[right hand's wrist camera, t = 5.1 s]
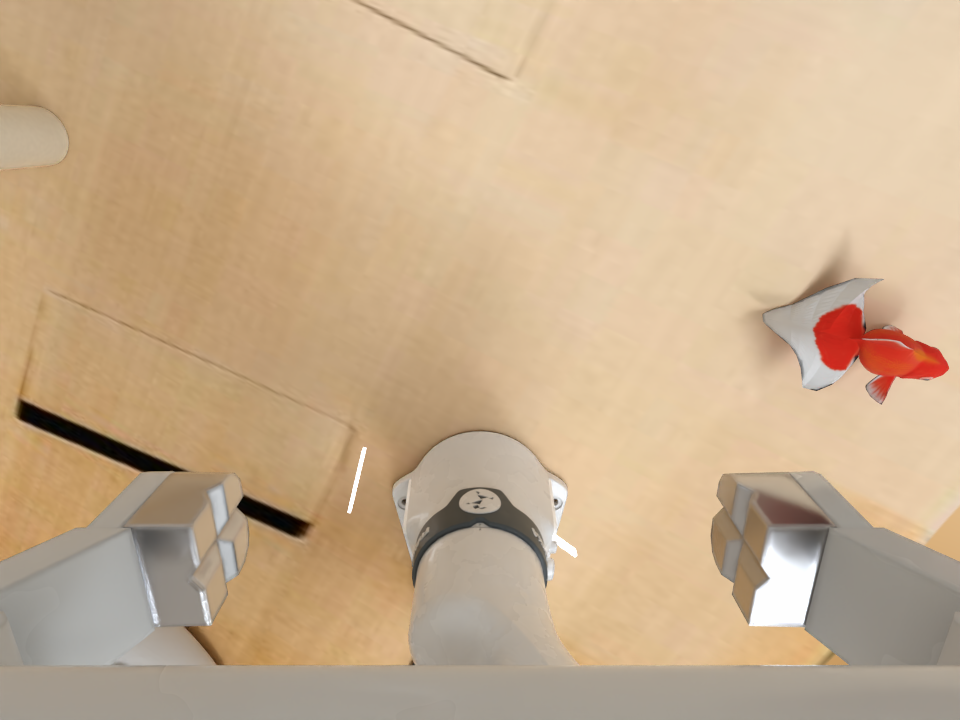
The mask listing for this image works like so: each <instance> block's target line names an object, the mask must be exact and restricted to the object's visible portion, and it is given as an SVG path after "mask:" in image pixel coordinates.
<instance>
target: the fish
mask: <svg viewBox="0 0 960 720" xmlns="http://www.w3.org/2000/svg"><path fill="white" fill-rule="evenodd" d="M882 280H884V279H864V278H855V279H852V280H849V281H846V282H843V283H840V284H837V285H834V286H831V287H828V288H825V289H823V290H821V291H819V292H817V293H815V294H813V295H811V296H809V297H807V298H805V299H803V300H801V301H798V302H796V303H794V304H792V305H788V306H784V307H780V308H776V309H773V310H770V311H767V312H765V313H764V314H763V322H764V323H765V324H766V325H767V326H768V327H769V328H770V329H772V330H773V331H774V332H775V333H776V334H777V335H779V336H780V337H781V338H782V339H783V340H784V341H786V342H787V343H788V344H789V345H790V346H791V347H792V349H793V350H794V352H795V354H796V355H797V358H798V361H799V364H800V367H801V374H802V385H803V388H807V389H811V390H815V391H817V390H820V389H822V388H825V387H827V386H830V385H832V384H833V383H834V382H836V381H837V380H838V379H839V378H841V377H842V375H843V374H844V373H845V372H846V371H847V370H848V369H849V368H850V366H851V365H852V364H853V363H854V362H855V360H856V359H857V358H858V357H859V359H860V362H861V363H862V365H863V366H864V367H865V368H866V369H867V370H868V371H870V372H871V373H874V374H877V375H878V376H877V377H875V378H874V379H873V380H871V381H870V382H869V383H868V384H867V385H866V390H867V392H868V393H869V395H870V396H871V397H872V398H873V399H874V400H875V401H877V402H878V403H880V404H881V405H882V403H883V401H884V400H885V398H886V396H887V393H888V391H889V389H890V387H891V385H892V383H893V381H894V379H895V378H896V376H897V377H900V378H912V379H921V380H931V379H933V378H936V377H939V376H941V375H943V374H944V373H945V372H947V371H948V369H949V366H948V364H947V362H946V360H945V359H944V357H943V356H942V354H941V352H940V351H939V349H937V348H935V347H930V346H928V345H926V344H924V343H921V342H919V341H914V340H913V339H911V338H910V337H908V336H906V335H904V334H903V332H902V331H901V330H899V329H897V328H896V327H894V326H892V325H887V326H885V327H883V328H882V329H874V330H871V331H869V332H867V333H865V331H866V324H865V318H864V312H863V310H864V293H865V292H866V291H867V290H868V289H869V288H870V287H871V286H872V285H874V284H876V283H877V282H879V281H882ZM864 333H865V334H864Z"/></svg>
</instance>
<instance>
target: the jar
mask: <svg viewBox="0 0 960 720" xmlns="http://www.w3.org/2000/svg"><path fill="white" fill-rule="evenodd" d="M68 147H69V140H68V135H67V132H66V129H65V127H64V125H63V124H62V122H61V121H60V120H59V119H58V118H57V117H56V116H55V115H54V114H53V113H52V112H50V111H49V110H47V109H45V108H42V107H39V106H31V105H9V104H0V171H2V170H13V169H24V168H35V167H45V166H53V165H56V164H58V163H59V162H61V161H62V160H63V159H64V158H65V156H66V154H67V152H68Z"/></svg>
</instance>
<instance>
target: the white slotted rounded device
mask: <svg viewBox="0 0 960 720" xmlns="http://www.w3.org/2000/svg"><path fill="white" fill-rule="evenodd" d="M111 665H216V663H215V662H214V661H213V659H212V658H211V657H210V655H209V654H208V653H207V652H206V650H205V649H204V648H203V647H202V646H201V644H200V643H199V642H198V641H197V640H196V639H195V638H194V637H193V636H192V635H191V633H190V632H189V631H188V630H187V629H186V628H185V627H184V626H178V627H155V631H153V632H152V633H151V634H150V635H148V636H147V637H146V638H144V639H143V640H142V641H141V642H139V643H138V644H137V645H136V646H134V647H133V648H132V649H130V650H129V651H128V652H127V653H125V654H124V655H123V656H122V657H120V658H119V659H118V660H116V661H115V662H114V663H113V664H111Z"/></svg>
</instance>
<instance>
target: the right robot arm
mask: <svg viewBox="0 0 960 720" xmlns="http://www.w3.org/2000/svg"><path fill="white" fill-rule="evenodd" d="M365 452H366V448H365V447H363V450H362V453H361V457H360V461H359V466H358V470H357V474H356V479H355V483H354V487H353V491H352V496H351V500H350V504H349V508H348V513H351V510H352V506H353V502H354V498H355V494H356V490H357V485H358V481H359V477H360V473H361V468H362V464H363V460H364V456H365ZM392 495H393V499H394V502H395V506H396V509H397V513H398V516H399V520H400V523H401V526H402V530H403V533H404V537H405V540H406V544H407V547H408V550H409V554H410V557H411V561H412V567H413V569H412V579H413V586H414V589H415V590H414V597H413V604H412V611H411V618H410V625H409V633H408V642H409V649H410V653H411V656H412V659H413V665H111V664H113V663H114V662H115V661H116V660H118V659H119V658H120V657H122V656H123V655H124V654H125V653H127V652H128V651H129V650H130V649H132V648H133V647H134V646H136V645H137V644H138V643H139V642H141V641H142V640H143V639H144V638H146V637H147V636H148V635H150V634H151V633H152V632H153V631H155V627H178V626H211V625H212V623H213V621H214V619H215V617H216V615H217V614H218V612H219V610H220V608H221V606H222V604H223V603H224V601H225V599H226V597H227V595H228V592H227V586H226V583H227V582H228V581H230V580H231V579H233V578H234V577H236V576H237V575H239V573H240V571H241V569H242V567H243V565H244V563H245V560H246V555H247V551H248V547H249V527H248V520H247V518H246V517H245V516H244V514H243V513H242V512H241V511H240V510H239V509H238V508H237V505H238V504H239V502H240V501H241V499H242V497H243V491H242V486H241V481H240V478H239V477H238V476H237V475H236V474H235V473H211V472H173V471H166V472H145V473H140V474H139V475H138V476H137V477H136V478H135V479H134V480H133V481H132V482H131V483H130V484H129V485H128V486H127V487H126V488H125V489H124V490H123V491H122V492H121V493H120V494H119V495H118V496H117V497H116V498H115V499H114V500H113V501H112V502H111V503H110V504H109V505H108V506H107V507H106V508H105V509H104V510H103V511H102V512H101V513H100V514H99V515H98V516H97V517H96V518H95V519H94V520H93V521H92V522H91V523H90V524H89V526H88V527H87V528H75V529H72V530H70V531H68V532H66V533H64V534H61V535H59V536H57V537H55V538H52V539H50V540H48V541H46V542H43V543H41V544H39V545H37V546H34V547H32V548H30V549H28V550H25V551H23V552H21V553H19V554H16V555H14V556H12V557H10V558H7V559H5V560H3V561H1V562H0V720H960V562H959V561H957V560H955V559H952V558H950V557H948V556H946V555H943V554H941V553H939V552H937V551H934V550H932V549H930V548H928V547H926V546H923V545H921V544H919V543H917V542H914V541H912V540H910V539H908V538H905V537H903V536H901V535H899V534H896V533H894V532H892V531H890V530H888V529H885V528H874V527H873V526H872V525H871V524H870V523H869V522H868V521H867V520H866V519H865V518H864V517H863V516H862V515H861V514H860V513H859V512H858V511H857V510H856V509H855V508H854V507H853V506H852V505H851V504H850V503H849V502H848V501H847V500H846V499H845V498H844V497H843V496H842V495H841V494H840V493H839V492H838V491H837V490H836V489H835V488H834V487H833V486H832V485H831V484H830V483H829V482H828V481H827V480H826V479H825V478H824V477H823V476H822V475H821V474H819V473H816V472H814V471H804V472H775V473H735V474H723V475H722V477H721V479H720V481H719V484H718V490H717V497H718V499H719V501H720V502H721V504H722V505H723V508H722V509H721V510H720V511H719V512H718V513H717V514H716V516H715V517H714V518H713V521H712V529H711V544H712V553H713V556H714V559H715V563H716V565H717V567H718V569H719V571H720V573H721V575H723V576H724V577H726V578H727V579H729V580H730V581H732V582H733V583H734V586H733V592H732V595H733V597H734V599H735V601H736V603H737V604H738V606H739V608H740V610H741V612H742V613H743V615H744V617H745V619H746V621H747V623H748V624H749V626H781V627H805V630H806V631H807V632H808V633H809V634H811V635H812V636H813V637H815V638H816V639H817V640H818V641H820V642H821V643H822V644H823V645H825V646H826V647H827V648H828V649H830V650H831V651H832V652H834V653H835V654H836V655H837V656H839V657H840V658H841V659H842V660H844V661H845V662H846V663H848V664H849V665H579V664H578V663H577V662H576V660H575V659H574V658H573V657H572V656H571V654H570V653H569V652H568V651H567V649H566V648H565V646H564V645H563V643H562V642H561V640H560V638H559V636H558V635H557V632H556V630H555V627H554V624H553V620H552V616H551V612H550V608H549V604H548V599H547V594H546V586H547V581H550V580H552V579H553V575H554V559H552V558H549V557H550V554H551V553H556V550H557V545H559V546H560V547H561V548H563V549H564V550H566V551H567V552H568V553H570V554H571V555H573V556H574V557H576V556H577V553H576V549H575V548H574V547H572V546H571V545H569V544H568V543H567V542H565V541H564V540H562V539H561V538H560V537H558V536H557V535H556V533H557V530H558V526H559V523H560V520H561V516H562V513H563V509H564V506H565V502H566V499H567V495H568V491H567V485H566V484H565V482H564V481H562V480H561V479H560V478H558V477H556V476H555V475H553V474H551V473H549V472H548V471H547V470H546V469H545V468H544V467H543V466H542V465H541V463H540V462H539V461H538V459H537V458H536V456H535V455H534V454H533V453H532V452H531V451H530V450H529V449H528V448H527V447H525V446H524V445H523V444H521V443H520V442H518V441H516V440H515V439H513V438H510V437H508V436H505V435H502V434H498V433H494V432H486V431H474V432H466V433H462V434H458V435H455V436H452V437H450V438H448V439H445V440H444V441H442V442H440V443H439V444H437V445H436V446H435V447H433V448H432V449H431V450H430V451H429V452H428V453H427V454H426V455H425V457H424V458H423V459H422V461H421V462H420V463H419V465H418V466H417V467H416V469H415V470H414V471H412V472H411V473H409V474H407V475H405V476H404V477H402V478H400V479H399V480H398V481H396V482H395V484H394V485H393V492H392ZM403 499H406V502H405V501H403ZM554 499H557V501H555V502H554Z"/></svg>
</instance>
